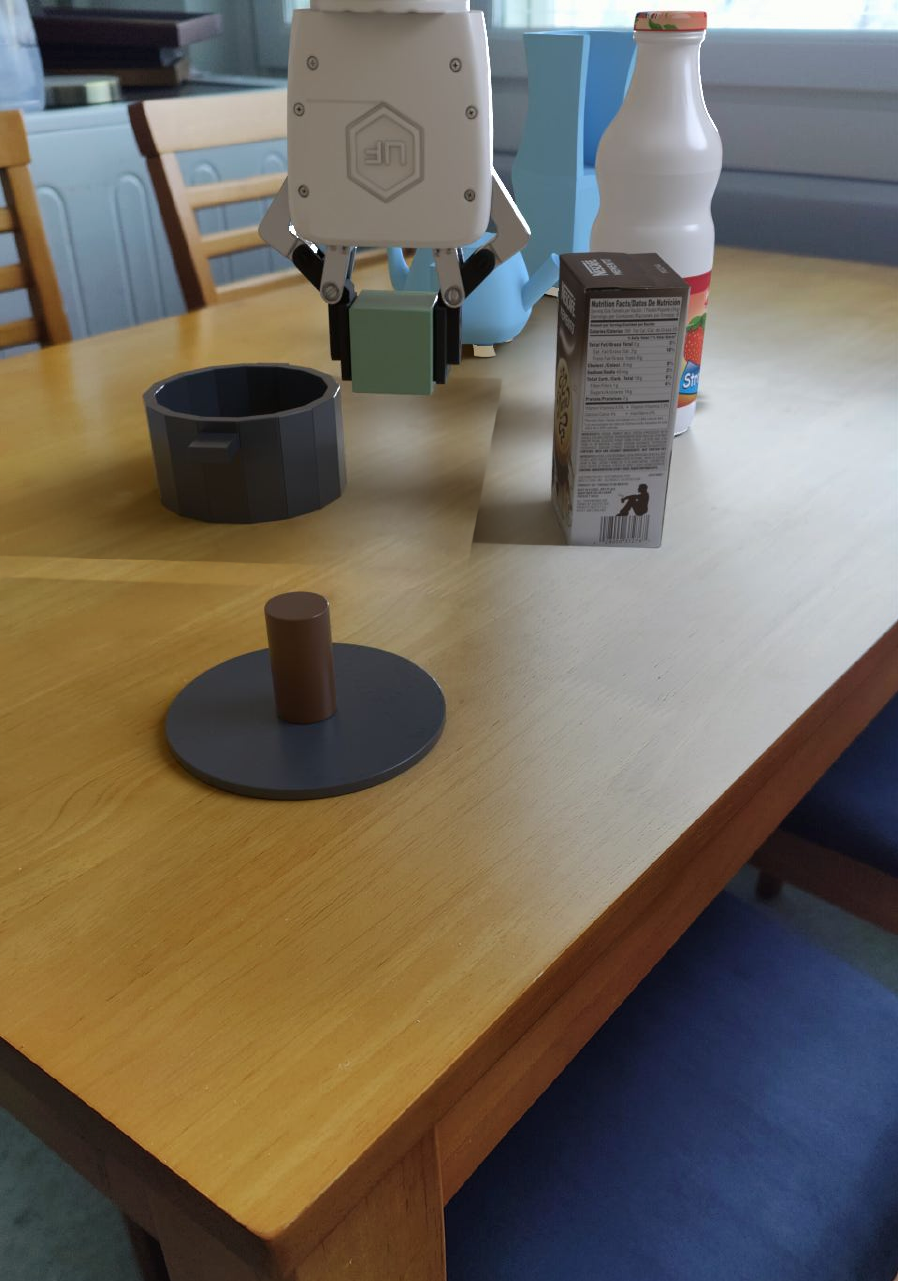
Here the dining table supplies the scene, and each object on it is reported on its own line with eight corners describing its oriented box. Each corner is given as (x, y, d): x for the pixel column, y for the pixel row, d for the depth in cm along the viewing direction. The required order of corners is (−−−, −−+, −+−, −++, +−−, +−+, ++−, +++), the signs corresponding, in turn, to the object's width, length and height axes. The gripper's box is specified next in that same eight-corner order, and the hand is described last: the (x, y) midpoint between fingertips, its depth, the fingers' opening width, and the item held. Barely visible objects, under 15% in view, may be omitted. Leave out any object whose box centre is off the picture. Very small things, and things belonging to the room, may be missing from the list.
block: (352, 393, 62) (348, 308, 59) (364, 370, 66) (361, 289, 63) (431, 396, 62) (431, 311, 59) (439, 373, 65) (439, 291, 63)
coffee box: (546, 499, 80) (556, 251, 71) (636, 496, 81) (658, 249, 71) (566, 553, 73) (580, 284, 63) (665, 549, 73) (694, 281, 64)
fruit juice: (567, 409, 97) (587, 11, 80) (674, 403, 98) (716, 8, 81) (593, 446, 89) (621, 15, 73) (708, 439, 90) (762, 12, 74)
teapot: (420, 372, 106) (416, 240, 99) (373, 337, 116) (368, 215, 110) (566, 355, 110) (573, 227, 104) (509, 323, 121) (512, 204, 114)
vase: (570, 300, 128) (583, 35, 114) (509, 286, 134) (514, 33, 119) (627, 286, 134) (646, 31, 119) (565, 274, 140) (577, 29, 125)
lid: (131, 803, 51) (102, 673, 47) (210, 656, 62) (192, 540, 58) (431, 818, 50) (427, 686, 46) (457, 665, 61) (456, 548, 57)
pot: (127, 566, 72) (101, 433, 67) (202, 466, 86) (186, 351, 81) (321, 572, 71) (310, 437, 66) (365, 470, 85) (359, 353, 80)
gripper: (189, -28, 50) (233, 390, 61) (570, -24, 49) (545, 402, 60) (231, -29, 56) (264, 352, 67) (571, -25, 55) (548, 362, 66)
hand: (396, 372), depth 63 cm, fingers closed on block, 4 cm apart
